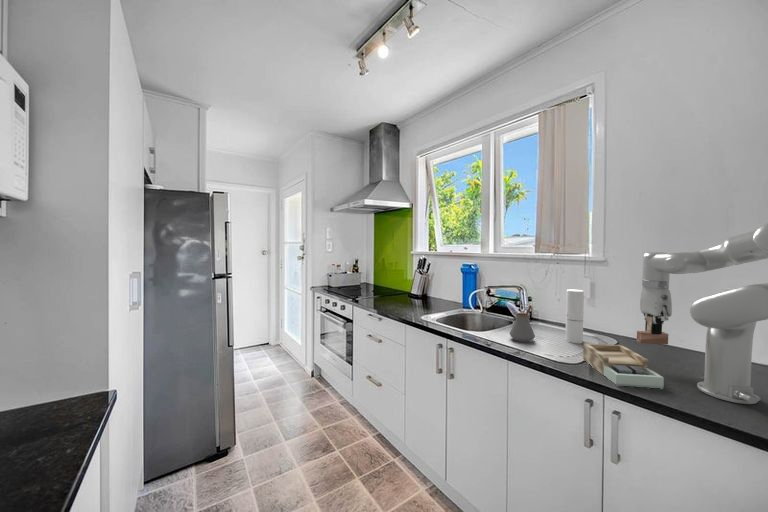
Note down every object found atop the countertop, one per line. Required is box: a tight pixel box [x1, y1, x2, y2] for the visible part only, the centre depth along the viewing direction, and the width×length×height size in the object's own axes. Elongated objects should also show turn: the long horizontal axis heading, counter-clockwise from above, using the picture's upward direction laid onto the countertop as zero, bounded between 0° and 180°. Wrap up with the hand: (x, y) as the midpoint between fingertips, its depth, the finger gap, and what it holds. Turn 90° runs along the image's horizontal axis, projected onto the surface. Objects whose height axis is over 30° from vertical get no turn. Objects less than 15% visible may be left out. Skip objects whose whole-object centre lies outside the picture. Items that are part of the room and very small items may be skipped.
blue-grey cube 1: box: [629, 366, 650, 375], centre depth 103 cm, size 4×4×4 cm
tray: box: [603, 366, 665, 390], centre depth 102 cm, size 8×14×4 cm, turn 80°
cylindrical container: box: [565, 288, 585, 344], centre depth 145 cm, size 7×7×25 cm
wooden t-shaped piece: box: [636, 316, 669, 345], centre depth 113 cm, size 2×9×10 cm, turn 80°
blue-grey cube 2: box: [612, 365, 632, 374], centre depth 104 cm, size 4×4×4 cm
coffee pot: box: [509, 305, 536, 343], centre depth 151 cm, size 21×12×15 cm, turn 139°
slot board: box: [582, 342, 649, 375], centre depth 113 cm, size 15×14×7 cm
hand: (653, 332), depth 113 cm, fingers closed on wooden t-shaped piece, 2 cm apart
